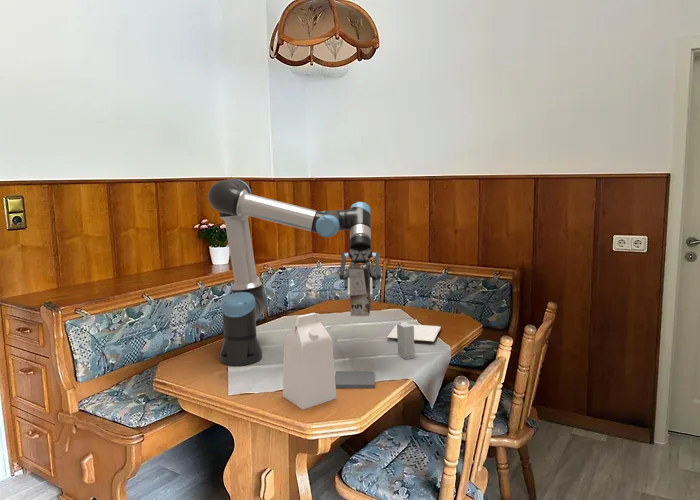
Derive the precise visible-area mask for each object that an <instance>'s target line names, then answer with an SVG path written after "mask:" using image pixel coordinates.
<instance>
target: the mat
mask: <svg viewBox="0 0 700 500" xmlns="http://www.w3.org/2000/svg"><path fill="white" fill-rule="evenodd" d="M375 374H376V373H375V371H374V370H336V371H335V385H336V389H376V388H375V383H376V381H375Z"/></svg>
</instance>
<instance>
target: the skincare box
mask: <svg viewBox="0 0 700 500" xmlns="http://www.w3.org/2000/svg"><path fill="white" fill-rule="evenodd" d="M396 324H397V339H398V340H397V354H398V356H400V357H401V358H403V359H404V360H410V359H414V358H415V356H416V354H415V341H414V326H413V325H411V324H412V323H409V322H407V321H402V322H397V323H396Z"/></svg>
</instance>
